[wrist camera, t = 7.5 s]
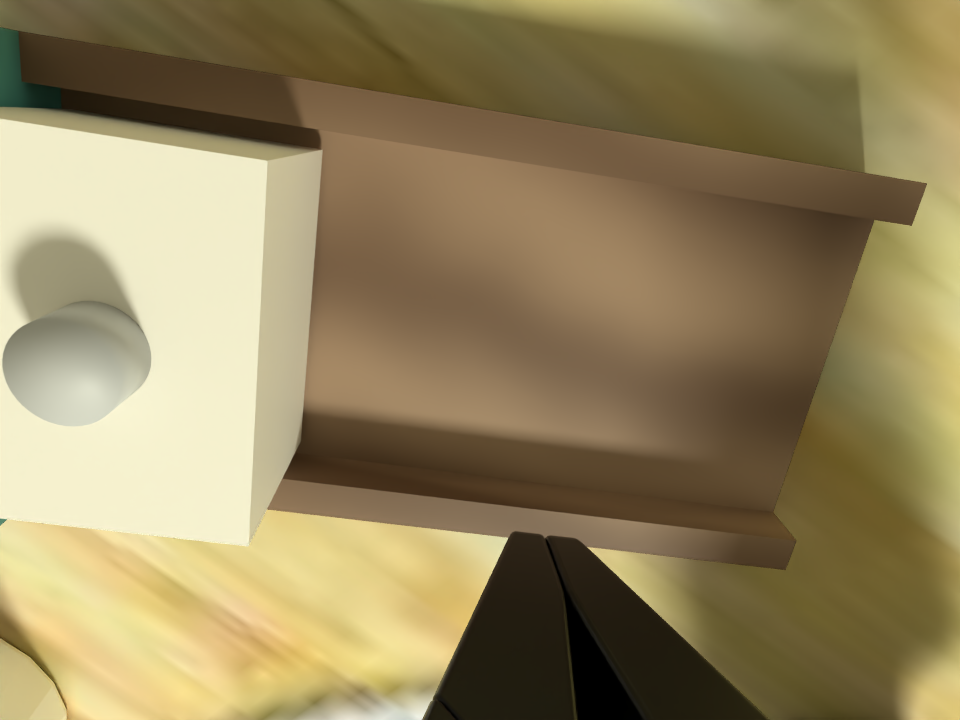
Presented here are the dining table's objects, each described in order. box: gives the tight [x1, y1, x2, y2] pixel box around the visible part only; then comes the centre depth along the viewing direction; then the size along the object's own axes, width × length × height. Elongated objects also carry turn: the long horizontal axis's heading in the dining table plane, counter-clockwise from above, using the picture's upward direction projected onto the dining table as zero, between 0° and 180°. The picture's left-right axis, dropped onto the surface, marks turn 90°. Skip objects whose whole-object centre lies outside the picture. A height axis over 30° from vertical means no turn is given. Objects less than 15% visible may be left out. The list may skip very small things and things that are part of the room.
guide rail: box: [0, 27, 927, 570], centre depth 17 cm, size 11×23×5 cm, turn 81°
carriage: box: [0, 107, 323, 546], centre depth 15 cm, size 8×6×6 cm
